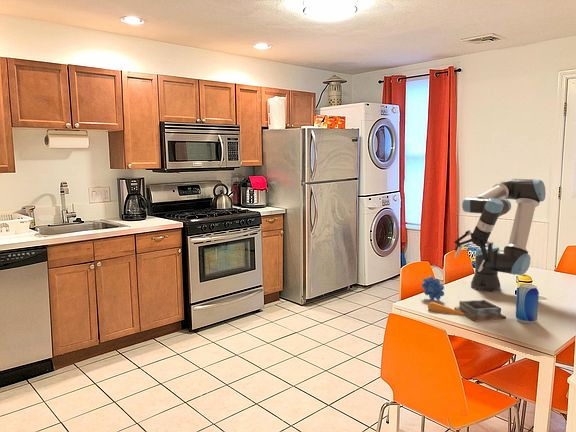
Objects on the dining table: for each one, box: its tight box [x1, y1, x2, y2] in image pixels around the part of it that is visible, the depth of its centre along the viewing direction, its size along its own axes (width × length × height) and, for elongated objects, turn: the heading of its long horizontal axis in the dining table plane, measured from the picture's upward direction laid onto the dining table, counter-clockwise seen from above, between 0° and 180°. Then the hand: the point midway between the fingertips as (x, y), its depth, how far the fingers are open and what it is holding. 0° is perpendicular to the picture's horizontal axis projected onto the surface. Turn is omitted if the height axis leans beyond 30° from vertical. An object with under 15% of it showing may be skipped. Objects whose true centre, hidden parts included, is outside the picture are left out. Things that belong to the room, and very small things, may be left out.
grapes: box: [421, 275, 445, 301], centre depth 229 cm, size 12×7×12 cm, turn 55°
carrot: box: [427, 301, 465, 317], centre depth 210 cm, size 20×4×4 cm, turn 59°
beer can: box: [515, 283, 540, 325], centre depth 198 cm, size 8×8×16 cm
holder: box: [453, 299, 507, 322], centre depth 208 cm, size 16×16×4 cm
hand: (467, 263), depth 229 cm, fingers open, 13 cm apart
